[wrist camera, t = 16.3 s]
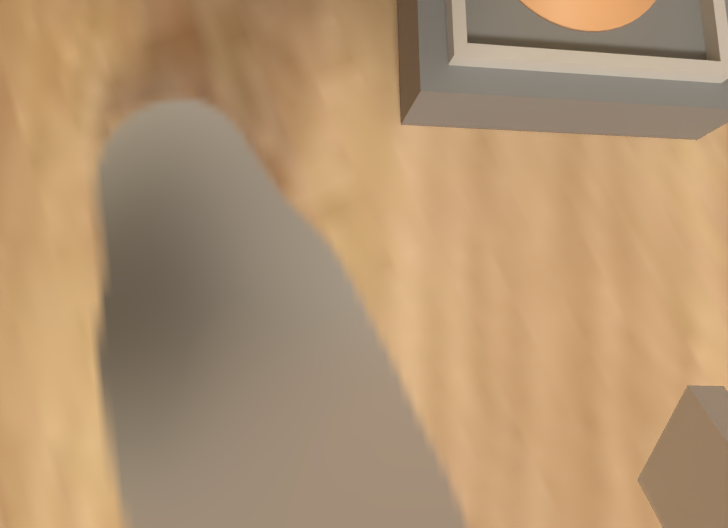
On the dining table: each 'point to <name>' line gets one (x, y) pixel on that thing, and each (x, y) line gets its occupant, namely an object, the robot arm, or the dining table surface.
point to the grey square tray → (566, 65)
